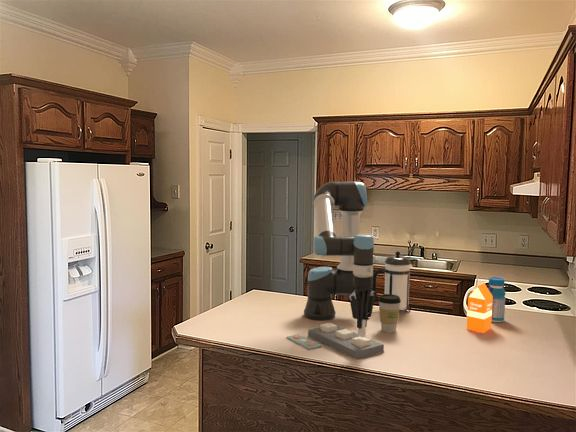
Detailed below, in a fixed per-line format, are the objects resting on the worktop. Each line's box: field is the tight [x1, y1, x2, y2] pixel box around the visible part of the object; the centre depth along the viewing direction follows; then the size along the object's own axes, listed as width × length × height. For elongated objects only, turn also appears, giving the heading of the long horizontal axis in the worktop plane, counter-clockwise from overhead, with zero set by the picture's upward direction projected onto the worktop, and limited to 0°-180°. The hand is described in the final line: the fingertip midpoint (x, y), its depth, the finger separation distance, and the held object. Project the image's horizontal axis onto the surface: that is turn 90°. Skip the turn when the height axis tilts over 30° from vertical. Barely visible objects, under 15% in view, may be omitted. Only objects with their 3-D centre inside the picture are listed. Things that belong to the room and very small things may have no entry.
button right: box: [352, 336, 371, 348], centre depth 184 cm, size 5×5×4 cm
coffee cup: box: [377, 294, 401, 333], centre depth 210 cm, size 10×10×15 cm
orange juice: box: [466, 282, 493, 334], centre depth 213 cm, size 8×9×20 cm
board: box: [307, 323, 385, 360], centre depth 193 cm, size 30×14×3 cm, turn 34°
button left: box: [319, 322, 338, 333], centre depth 201 cm, size 5×5×4 cm
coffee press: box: [371, 251, 413, 314], centre depth 241 cm, size 17×16×30 cm
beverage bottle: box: [487, 276, 506, 323], centre depth 227 cm, size 8×8×20 cm
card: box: [285, 334, 322, 351], centre depth 194 cm, size 16×6×1 cm, turn 34°
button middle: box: [336, 328, 354, 340], centre depth 193 cm, size 5×5×4 cm
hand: (361, 336), depth 184 cm, fingers closed
